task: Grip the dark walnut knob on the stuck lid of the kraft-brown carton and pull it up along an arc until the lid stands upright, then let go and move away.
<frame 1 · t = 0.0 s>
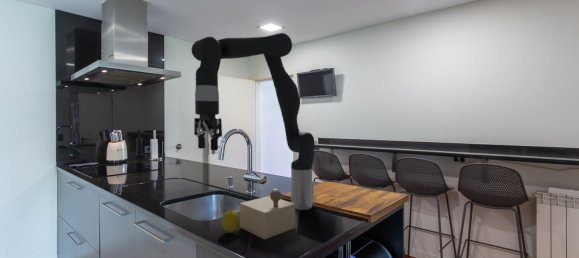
hand: (207, 149, 96), 29 cm above the worktop, tool pointing down, fingers open, 8 cm apart
carton: (267, 227, 105), on the worktop
lid: (267, 196, 104), point 11 cm above the worktop, hinge at 0.0°
lemon: (230, 233, 100), on the worktop
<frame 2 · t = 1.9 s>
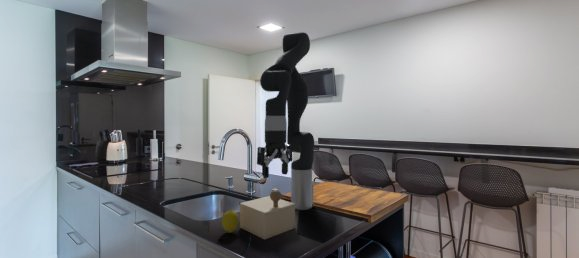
hand: (275, 175, 100), 20 cm above the worktop, tool pointing down, fingers open, 8 cm apart
nothing on the worktop moved.
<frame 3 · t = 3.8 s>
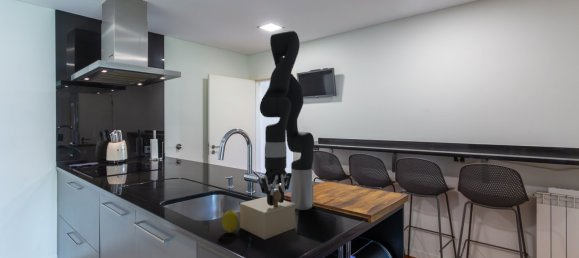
hand: (275, 203, 101), 10 cm above the worktop, tool pointing down, fingers closed on lid, 4 cm apart
lid: (267, 196, 104), point 11 cm above the worktop, hinge at 0.0°, touching gripper
everything else where it was.
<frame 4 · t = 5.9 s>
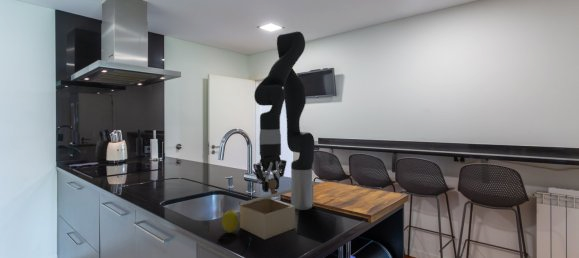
hand: (270, 190, 103), 14 cm above the worktop, tool pointing down, fingers closed on lid, 4 cm apart
lid: (264, 189, 105), point 14 cm above the worktop, hinge at 21.4°, touching gripper
everything else where it was.
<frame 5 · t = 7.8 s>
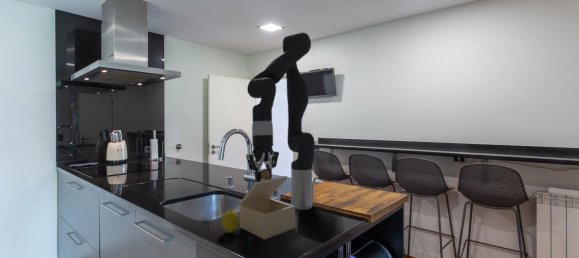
hand: (263, 180, 105), 17 cm above the worktop, tool pointing down, fingers closed on lid, 4 cm apart
lid: (260, 184, 107), point 15 cm above the worktop, hinge at 43.1°, touching gripper
everything else where it was.
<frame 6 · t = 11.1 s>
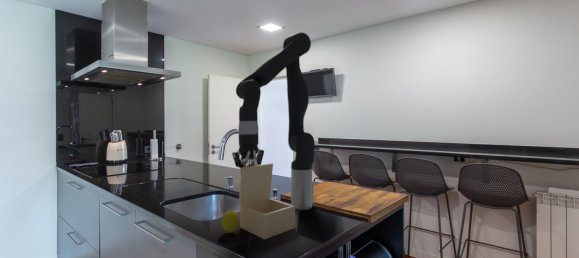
hand: (248, 177, 112), 17 cm above the worktop, tool pointing down, fingers closed on lid, 4 cm apart
lid: (251, 181, 111), point 15 cm above the worktop, hinge at 81.6°, touching gripper
everything else where it was.
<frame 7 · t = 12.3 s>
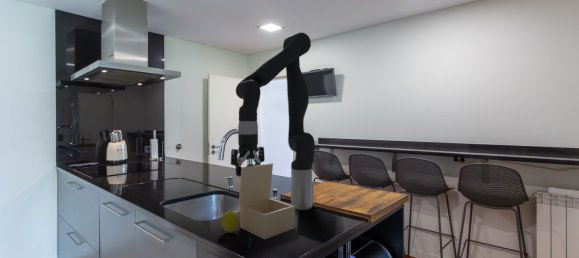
hand: (248, 174, 112), 18 cm above the worktop, tool pointing down, fingers open, 8 cm apart
lid: (251, 181, 111), point 15 cm above the worktop, hinge at 81.9°
everything else where it was.
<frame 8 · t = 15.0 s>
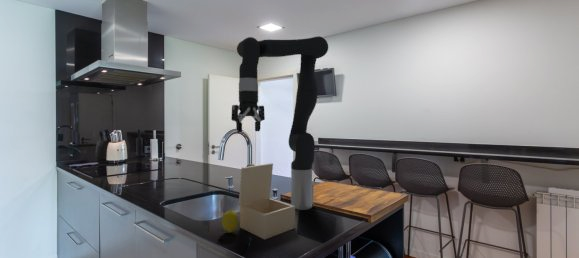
hand: (248, 131, 114), 34 cm above the worktop, tool pointing down, fingers open, 8 cm apart
nothing on the worktop moved.
at the end: lid at +82° (first picture: +0°) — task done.
